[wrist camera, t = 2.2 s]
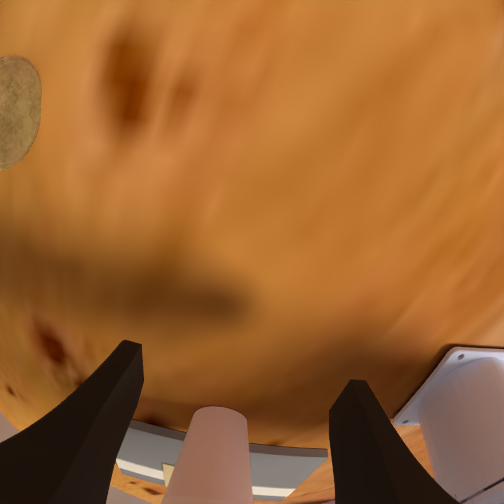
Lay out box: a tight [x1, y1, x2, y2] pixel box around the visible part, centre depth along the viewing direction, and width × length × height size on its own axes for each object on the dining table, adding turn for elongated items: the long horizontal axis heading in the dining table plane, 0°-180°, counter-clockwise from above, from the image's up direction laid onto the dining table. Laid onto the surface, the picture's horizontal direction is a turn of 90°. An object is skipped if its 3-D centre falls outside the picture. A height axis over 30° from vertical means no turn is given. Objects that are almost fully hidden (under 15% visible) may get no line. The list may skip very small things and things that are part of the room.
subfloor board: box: [116, 419, 328, 501], centre depth 24 cm, size 18×14×1 cm
